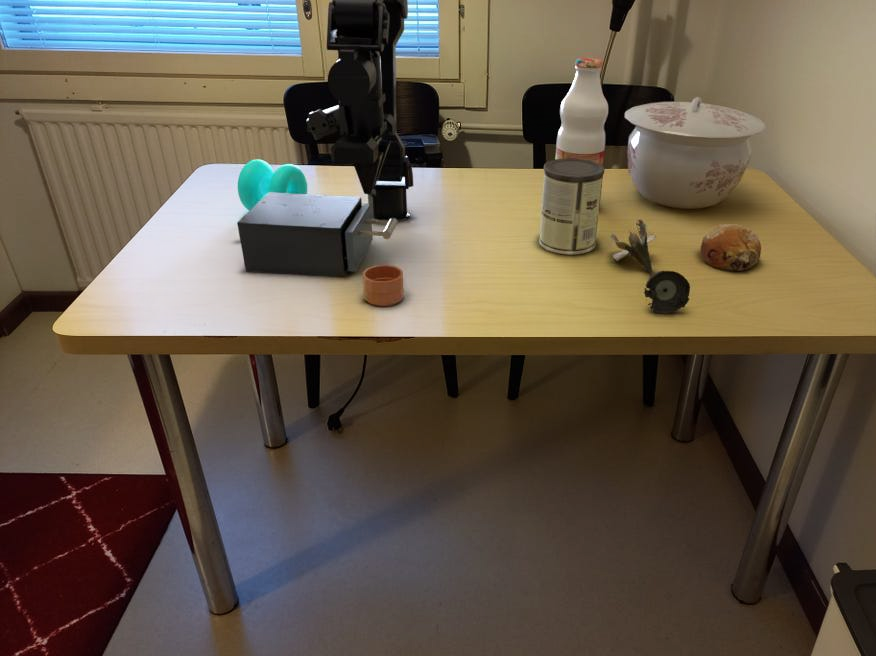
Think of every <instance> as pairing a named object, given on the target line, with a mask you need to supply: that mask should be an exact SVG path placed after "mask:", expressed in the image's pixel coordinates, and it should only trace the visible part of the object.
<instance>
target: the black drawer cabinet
mask: <svg viewBox="0 0 876 656" xmlns="http://www.w3.org/2000/svg"><path fill="white" fill-rule="evenodd" d="M362 205H363V201H362V196H347V195H345V196H344V195H332V194H331V195H329V194H327V195H326V194H309V193H307V194H292V193H272V192H268V193H267V194H266V195H265V196H264V197H263V198H262V199H261V200H260V201H259V202H258V203H257V204H256V205H255V206H254V207H253V208H252V209H251V210H250V211H249V210H248V212H247V213H246V214H245V215H244V216H243V217H242V218H240V219H239V220H238V221H237V223H236V224H237V229H238V236H239V241H240V242H239V243H240V247H241V252H242V258H243V264H244V268H245V272H251V273H265V274H266V273H268V274H282V275H283V274H284V275H285V274H286V275H299V276H301V275H302V276H318V277H334V278H335V277H337V278H345V277H346V276H347V274H348V272H349V271H348V262H347V259H346V261H345V263H344V252H343V241H342V229H343V228H344V226H345V225H346V223H347V222H348V220H349V219H350V217H351V216H352V214H353V213H354V211H355V210H357V213H358V211H359V210H360V208H361V207H362Z"/></svg>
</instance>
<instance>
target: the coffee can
mask: <svg viewBox="0 0 876 656" xmlns="http://www.w3.org/2000/svg"><path fill="white" fill-rule="evenodd" d="M605 169H606V168H605V166H603V165H600V164H598V163H596V162H593V161H589V160H584V159H575V158H564V159H556V160H555V159H552V160H549V161H547V162H545V163H544V165H543V185H542V197H541V198H542V200H541V212H540V213H541V214H540V227H539V239H538V243H539V245H540V247H541V248H543V249H544V250H546V251H548V252H552V253H554V254H559V255H568V256H571V255H574V256H575V255H583V254H587V253H590V252H591V251H593V250H594V249H595V248H596V240H597V239H596V238H597V230H598V223H599V222H598V221H599V213H600V205H601V196H602V188H603V179H604V174H605Z"/></svg>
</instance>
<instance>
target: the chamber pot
mask: <svg viewBox="0 0 876 656" xmlns="http://www.w3.org/2000/svg"><path fill="white" fill-rule="evenodd" d="M702 101H703V100H702V98H701V97H700V96H696V97H693V99H692V101H657V102H650V103H646V104H640V105H636V106H633V107H631V108H629V109H627V110H625V112H624V119H625V120H626V121H628V122H629V123H630V124H632V125H633V126H635V127H634V129H633V130H632V131H631V133H630V134H629V135H628V141H627V147H626V148H627V150H626V153H627V167H628V168H627V170H628V173H629V176H630V178H631V181H632V183H633V185H634V187H635V190H636V191H637V193H639V194H640V195H641V196H642V198H644V199H646V200H648V201H650V202H652V203H655V204H657V205H659V206H663V207H666V208H672V209H678V210H697V209H703V208H704V209H705V208H709V207H713V206H715V205H718V204H720V203H721V202H723V201H724V200H725V199H726V198H727V197H728V196H729V195H730V194H731V192H732V191H733V190H734V189H735V188H736V187H737V186H738V185H739V183H740V182H741V181H742V179H743V176H744V174H745V172H746V170H747V168H748V166H749V164H750V161H751V160H750V159H751V156H752V152H753V148H752V145H751V142H750V139H749V137H750V138H751V137H753V136H755V135H758V134H760V133H762V132H763V131H764V130H765V128H766V127H767V126H766V125H765V123H764V122H763V121H762V119H760V118H759V117H757V116H755V115H753V114H750V113H748V112H746V111H743V110H740V109H737V108H734V107H729V106H723V105H718V104H713V103H706V102H702Z"/></svg>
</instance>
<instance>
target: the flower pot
mask: <svg viewBox="0 0 876 656" xmlns="http://www.w3.org/2000/svg"><path fill="white" fill-rule="evenodd" d="M404 284H405V283H404V271H403V270H402V269H401V268H400V267H398V266H395V265H390V264H377V265H374V266H370V267H368V268H365V269H364V271H363V272H362V286H363V298H364V300H365V301H366V302H368V303H369V304H371V305H373V306H377V307H390V306H394V305H397V304H398V303H399V302H401V301H403V299H404V297H405V288H404V287H405V286H404Z"/></svg>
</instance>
